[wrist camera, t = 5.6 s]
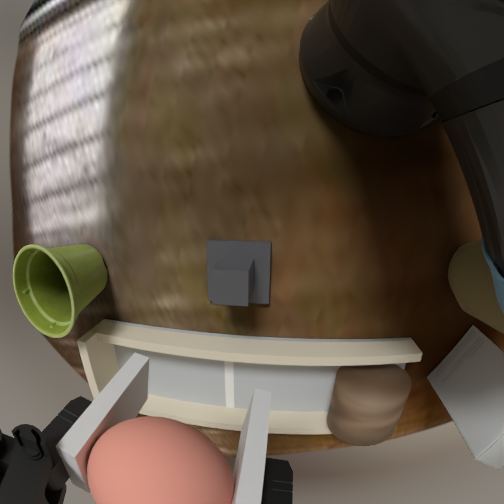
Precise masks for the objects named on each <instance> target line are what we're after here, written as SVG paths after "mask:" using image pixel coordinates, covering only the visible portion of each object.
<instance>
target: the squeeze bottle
mask: <svg viewBox="0 0 504 504" xmlns="http://www.w3.org/2000/svg"><path fill="white" fill-rule="evenodd" d="M481 240H482V239H481ZM481 240H477V241H474V242H470V243H467V244H465V245H463V246H461V247H459V249H458V250H457V251H456V252H455V253H454V254H453V256H452V259H451V261H450V263H449V269H448V280H449V285H450V287H451V289H452V291H453V293H454V295H455V298H456V300H457V302H458V303H459V305H460V307H461V308H462V310H463V311H464V312H466V313H468V314H470V315H471V316H473V317H475V318H477V319H478V320H480V321H482V322H484V323H486V324H487V325H489V326H491V327H492V328H494V329H496V330H498V331H499V332H501V333H503V334H504V314H503V312H502V310H501V308H500V305H499V303H498V300H497V297H496V293H495V288H494V283H493V279H492V274H491V270H490V267H489V265H488V263H487V261H486V259H485V256H484V253H483V249H482V243H481Z"/></svg>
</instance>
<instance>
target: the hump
mask: <svg viewBox="0 0 504 504" xmlns="http://www.w3.org/2000/svg"><path fill="white" fill-rule="evenodd" d="M411 386H412V382H411V378H410V376H409V375H408V373H407V372H406V371H405V370H404V369H402V368H401V367H399V366H398V365H396V364H380V365H354V366H341V367H340V368H339V369H338V371H337V374H336V378H335V383H334V388H333V392H332V397H331V402H330V406H329V410H328V415H327V425H328V428H329V430H330V431H331V432H332V434H333V435H334V436H336V437H337V438H338V439H340V440H342V441H344V442H346V443H349V444H352V445H357V446H370V445H375V444H378V443H381V442H383V441H385V440H386V439H388V438H389V437H390V436H391V435H392V433H393V432H394V430H395V427H396V425H397V423H398V420H399V418H400V416H401V413H402V411H403V408H404V406H405V403H406V401H407V398H408V395H409V393H410V390H411Z"/></svg>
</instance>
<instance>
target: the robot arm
mask: <svg viewBox="0 0 504 504" xmlns="http://www.w3.org/2000/svg"><path fill="white" fill-rule="evenodd" d="M299 64H300V69H301V73H302V76H303V79H304V82H305V84H306V86H307V88H308V89H309V91H310V93H311V94H312V96H313V97H314V99H315V100H316V101H317V102H318V103H319V105H320V106H321V107H322V108H323V109H324V110H325V111H326V112H328V113H329V114H330V115H331V116H332V117H334V118H335V119H336V120H338V121H339V122H341V123H342V124H344V125H346V126H348V127H350V128H351V129H354V130H356V131H358V132H361V133H364V134H367V135H371V136H377V137H388V138H390V137H400V136H405V135H408V134H411V133H413V132H415V131H418V130H420V129H422V128H424V127H426V126H427V125H429V124H430V123H431V122H433V121H434V120H435V119H436V118H437V116H439V118H440V120H441V121H442V122H441V123H442V125H443V127H444V129H445V131H446V133H447V136H448V138H449V140H450V142H451V145H452V147H453V149H454V152H455V154H456V156H457V159H458V161H459V164H460V166H461V169H462V172H463V174H464V177H465V180H466V183H467V186H468V188H469V191H470V194H471V198H472V201H473V204H474V207H475V210H476V214H477V217H478V221H479V225H480V228H481V232H482V240H481V243H482V249H483V253H484V256H485V259H486V261H487V263H488V265H489V267H490V270H491V274H492V279H493V283H494V288H495V293H496V297H497V300H498V303H499V305H500V308H501V310H502V312H503V314H504V0H329V1H328V2H327V3H326V4H325V5H324V6H323V7H322V8H321V9H320V10H319V11H318V12H317V13H316V14H315V15H314V16H313V17H312V18H311V19H310V20H309V22H308V23H307V25H306V27H305V29H304V31H303V34H302V37H301V41H300V51H299ZM148 376H149V357H146V356H143V355H140V354H138V353H134V354H133V355H132V356H131V358H130V359H129V360H128V361H127V362H126V363H125V364H124V366H123V367H122V368H121V369H120V370H119V371H118V373H117V374H116V375H115V376H114V377H113V378H112V380H111V381H110V382H109V383H108V384H107V385H106V387H105V388H104V389H103V390H102V391H101V392H100V394H99V395H98V396H97V397H96V398H95V399H94V401H93V402H91V401H89V400H87V399H85V398H83V397H78V398H76V399H74V400H71V401H70V402H69V403H68V404H67V405H66V406H65V407H64V409H63V410H62V411H61V412H60V413H59V414H58V416H56V417H55V418H54V419H53V420H52V421H51V423H50V424H49V425H48V426H47V427H46V428H45V429H44V430H43V431H42V432H41V431H40V430H39V429H38V428H36V427H34V426H32V425H28V424H23V425H19V426H17V427H15V428H14V429H13V430H12V433H13V435H14V437H15V438H13V437H10V436H8V435H5V434H3V433H2V432H1V430H0V504H63V501H64V497H65V493H66V484H65V483H66V481H67V480H68V479H69V478H70V480H71V482H72V483H73V484H74V485H76V486H78V487H80V488H81V489H83V490H85V491H87V492H90V488H89V484H88V479H87V465H88V459H89V456H90V453H91V451H92V448H93V447H94V445H95V443H96V442H97V440H98V439H99V438H100V437H101V436H102V435H103V433H105V432H106V431H107V430H108V429H110V428H111V427H113V426H115V425H116V424H118V423H120V422H123V421H126V420H128V419H132V418H136V416H137V415H138V413H139V412H140V410H141V408H142V407H143V405H144V404H145V402H146V400H147V399H148ZM270 402H271V392H270V391H265V390H261V389H256V388H255V389H254V392H253V395H252V398H251V401H250V404H249V407H248V410H247V413H246V416H245V419H244V422H243V425H242V430H241V435H240V440H239V445H238V450H237V455H236V460H235V466H234V471H233V475H232V477H233V484H234V493H233V499H232V503H231V504H292V490H293V489H292V488H293V485H292V482H293V471H292V469H291V467H290V465H289V463H288V461H285V460H278V459H272V458H266V449H267V438H268V427H269V415H270Z"/></svg>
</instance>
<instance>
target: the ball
mask: <svg viewBox="0 0 504 504" xmlns="http://www.w3.org/2000/svg"><path fill="white" fill-rule="evenodd" d="M87 479H88V484H89V488H90V491H91V494H92V496H93V498H94V500H95V502H96V504H231V503H232V499H233V493H234V484H233V477H232V473H231V469H230V467H229V465H228V462H227V460H226V458H225V457H224V455H223V454H222V452H221V451H220V450H219V448H218V447H217V446H216V445H215V444H214V443H213V442H212V441H211V440H210V439H209V438H208V437H207V436H206V435H204V434H203V433H201V432H200V431H198V430H197V429H195V428H193V427H191V426H189V425H187V424H185V423H182V422H180V421H177V420H173V419H169V418H164V417H153V416H146V417H137V418H132V419H128V420H126V421H123V422H120V423H118V424H116V425H115V426H113V427H111V428H110V429H108V430H107V431H106V432H105V433H103V435H102V436H101V437H100V438H99V439H98V440H97V442H96V443H95V445H94V447H93V448H92V451H91V453H90V456H89V459H88V465H87Z"/></svg>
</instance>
